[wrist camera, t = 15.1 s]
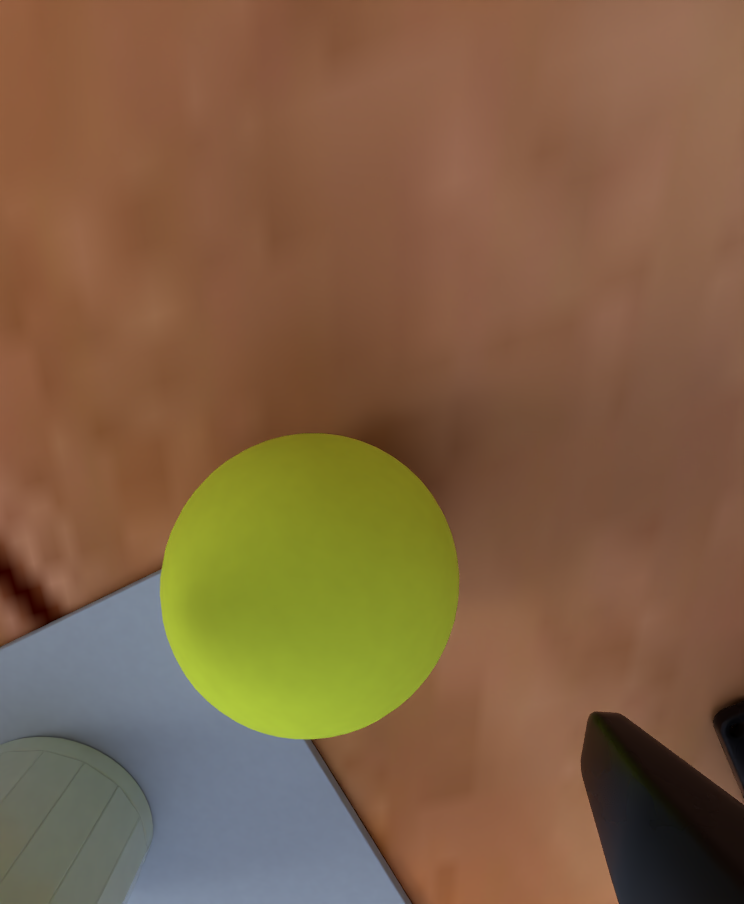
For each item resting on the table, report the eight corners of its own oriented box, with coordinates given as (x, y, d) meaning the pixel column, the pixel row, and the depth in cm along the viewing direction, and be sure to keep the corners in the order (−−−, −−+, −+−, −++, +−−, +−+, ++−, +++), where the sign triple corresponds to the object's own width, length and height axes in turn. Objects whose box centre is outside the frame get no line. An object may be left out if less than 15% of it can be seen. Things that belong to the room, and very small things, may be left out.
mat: (425, 924, 18) (426, 938, 18) (101, 1041, 20) (95, 1055, 20) (195, 552, 15) (190, 557, 15) (-164, 725, 17) (-177, 734, 17)
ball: (478, 571, 15) (547, 743, 9) (285, 657, 16) (219, 873, 10) (379, 372, 14) (376, 402, 8) (175, 475, 15) (14, 582, 8)
